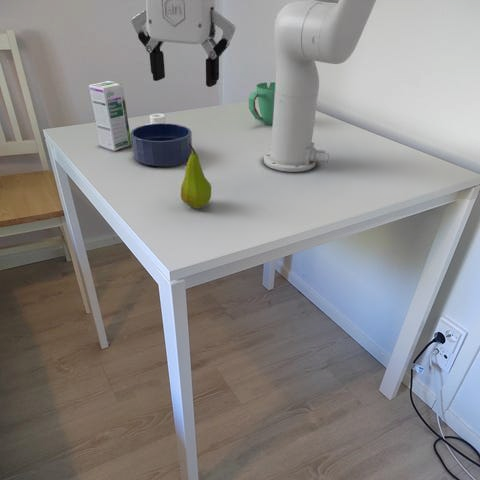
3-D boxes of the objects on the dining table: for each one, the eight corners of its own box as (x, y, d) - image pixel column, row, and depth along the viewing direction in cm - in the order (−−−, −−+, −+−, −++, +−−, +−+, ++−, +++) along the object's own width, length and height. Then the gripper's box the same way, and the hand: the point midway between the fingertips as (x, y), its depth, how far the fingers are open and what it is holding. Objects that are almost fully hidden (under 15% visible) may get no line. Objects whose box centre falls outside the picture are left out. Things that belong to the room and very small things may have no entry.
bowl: (201, 152, 108) (200, 127, 104) (177, 171, 98) (175, 145, 94) (150, 145, 111) (148, 120, 108) (123, 163, 101) (119, 137, 97)
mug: (268, 116, 135) (271, 80, 128) (293, 122, 130) (297, 86, 123) (237, 125, 126) (238, 88, 120) (262, 133, 121) (264, 94, 115)
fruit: (216, 210, 83) (216, 147, 76) (186, 215, 81) (182, 151, 74) (206, 197, 88) (204, 136, 80) (177, 201, 86) (172, 140, 78)
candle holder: (184, 126, 124) (183, 110, 122) (176, 139, 115) (175, 122, 112) (143, 124, 125) (141, 108, 122) (133, 137, 116) (130, 120, 113)
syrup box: (115, 151, 107) (104, 87, 98) (99, 146, 110) (88, 83, 100) (132, 145, 111) (123, 83, 101) (117, 141, 113) (107, 79, 104)
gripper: (111, -56, 60) (128, 81, 71) (226, -52, 56) (225, 92, 67) (138, -53, 66) (149, 73, 76) (244, -50, 62) (240, 83, 73)
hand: (185, 82), depth 72 cm, fingers open, 9 cm apart
